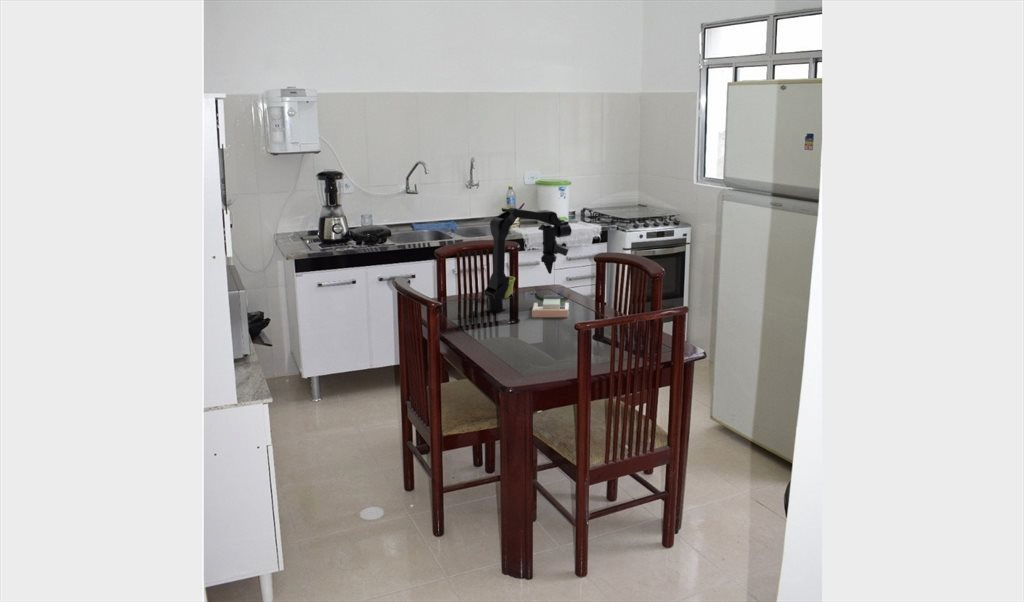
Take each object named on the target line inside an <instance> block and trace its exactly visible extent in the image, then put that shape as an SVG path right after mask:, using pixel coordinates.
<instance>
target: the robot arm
mask: <svg viewBox="0 0 1024 602" xmlns="http://www.w3.org/2000/svg"><path fill="white" fill-rule="evenodd" d="M517 219H527V220H534V221H538V222H539V223H540V222H541V223H543V224H541V225H540V226H539V227H538V230H539V231H542V255H541V257H540V260H541V263H543V264H544V266H545V269H546V270H547V273H548V274H549V275H550V274H552V272H553V271H552V270H553V266H554V263H555V262H556V261H557V256H556V255H558V254H559V255H562V256H565V257H567V255H568V253H569V249H570V248H569V246H568V245H567V243H565V242H562V243H561V244H560V243H558V242H557V238H559V239H560V238H563V237H564V238H566V237H570V236H571V235H572V233H573V232H572V228H571V225H570V224H569V221H568V220H565V221H561V220H560V219H559V217H558V214H557V212H556V211H552V210H548V209H543V210H542V209H541V210H530V209H529V210H528V209H521V208H516V207H509V208H508V209H506V211H503V212H502V213H501V214H500V213H499V215H497V216H496V217H494V218H492V220H490V223H489V227H490V233H491V236H492V238H493V262H492V263H493V265H492V274H491V276H490V278H489V282H488V285H487V287H486V288H485V289H484V291H483V293H484V296H485V297H487V308H485V309H484V310H485V311H486V312H489V313H491V314H496V313H500V312H501V313H502V312H504V311H506V309H505V308H504V306H503V305H504V304H503V299H505V298H504V297H505V294H506V291H507V290H508V286H509V277H507V276H508V275H506V274H505V273H506V272H505V267H506V266H505V264H506V263H505V259H506V257H505V256H506V254H505V253H506V239H507V237H508V235H509V232H510V228H511V227H512V226H513V225H514V223H516V220H517ZM545 224H546V225H545Z"/></svg>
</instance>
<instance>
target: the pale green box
mask: <svg viewBox="0 0 1024 602" xmlns="http://www.w3.org/2000/svg"><path fill="white" fill-rule="evenodd" d="M542 307H543V309H560V307H561V295H557V294H556V295H543V301H542Z"/></svg>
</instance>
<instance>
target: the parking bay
mask: <svg viewBox="0 0 1024 602" xmlns="http://www.w3.org/2000/svg"><path fill="white" fill-rule="evenodd" d="M538 303H539V302H534V303H533V306H532V309H531V317H532V318H569V311H568V310H569V309H570V305H569V304H570V303H569V302H565V303H564V307H565V309H543V306H538V305H539V304H538Z"/></svg>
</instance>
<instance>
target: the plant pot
mask: <svg viewBox="0 0 1024 602" xmlns="http://www.w3.org/2000/svg"><path fill="white" fill-rule="evenodd" d="M506 276H507V277H509V286H508V290H507V291H506V294H505V297H504V298H503V299H508V298H507V297H509V296H510V295H511V294H512V295H513V293H514V292H513V289H514V283H515V280H516V277H514V276H510V275H506ZM509 298H510V297H509Z"/></svg>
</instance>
